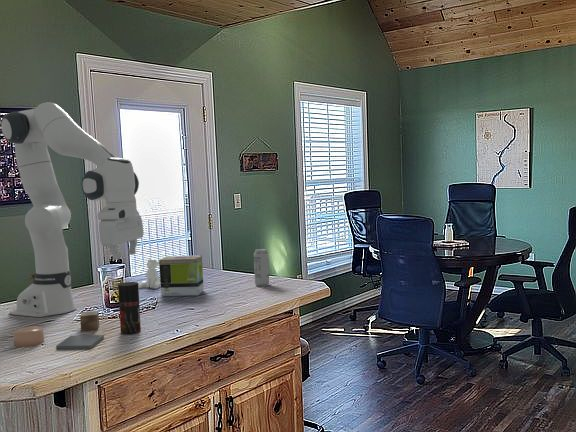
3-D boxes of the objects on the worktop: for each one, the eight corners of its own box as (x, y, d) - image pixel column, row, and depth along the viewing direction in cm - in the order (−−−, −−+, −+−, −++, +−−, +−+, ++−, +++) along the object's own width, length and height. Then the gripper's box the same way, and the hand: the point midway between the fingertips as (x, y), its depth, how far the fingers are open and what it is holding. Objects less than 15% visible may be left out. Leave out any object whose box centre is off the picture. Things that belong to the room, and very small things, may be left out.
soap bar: (41, 332, 167) (41, 346, 167) (44, 325, 174) (45, 338, 175) (10, 335, 164) (11, 349, 165) (16, 327, 172) (17, 341, 173)
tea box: (204, 290, 235) (202, 254, 234) (197, 296, 225) (196, 258, 224) (168, 291, 237) (166, 255, 235) (160, 296, 227) (158, 259, 225)
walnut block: (81, 331, 180) (80, 316, 180) (83, 327, 185) (82, 312, 185) (97, 330, 181) (96, 314, 181) (99, 326, 186) (98, 310, 186)
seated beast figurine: (136, 288, 244) (135, 260, 242) (146, 284, 252) (145, 257, 251) (157, 289, 241) (156, 260, 240) (166, 284, 250) (165, 257, 249)
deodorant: (141, 333, 176) (138, 284, 175) (120, 335, 175) (118, 286, 173) (140, 328, 182) (137, 281, 181) (120, 330, 180) (118, 282, 179)
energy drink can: (271, 285, 241) (270, 249, 239) (257, 287, 238) (256, 251, 237) (266, 283, 246) (265, 248, 245) (252, 284, 244) (251, 249, 243)
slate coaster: (56, 349, 163) (56, 345, 163) (71, 338, 173) (70, 335, 173) (91, 348, 162) (91, 345, 162) (104, 338, 172) (103, 334, 172)
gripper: (128, 208, 185) (131, 251, 187) (94, 214, 165) (97, 262, 167) (147, 208, 184) (149, 251, 185) (114, 214, 164) (117, 262, 165)
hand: (124, 256), depth 176 cm, fingers open, 8 cm apart
